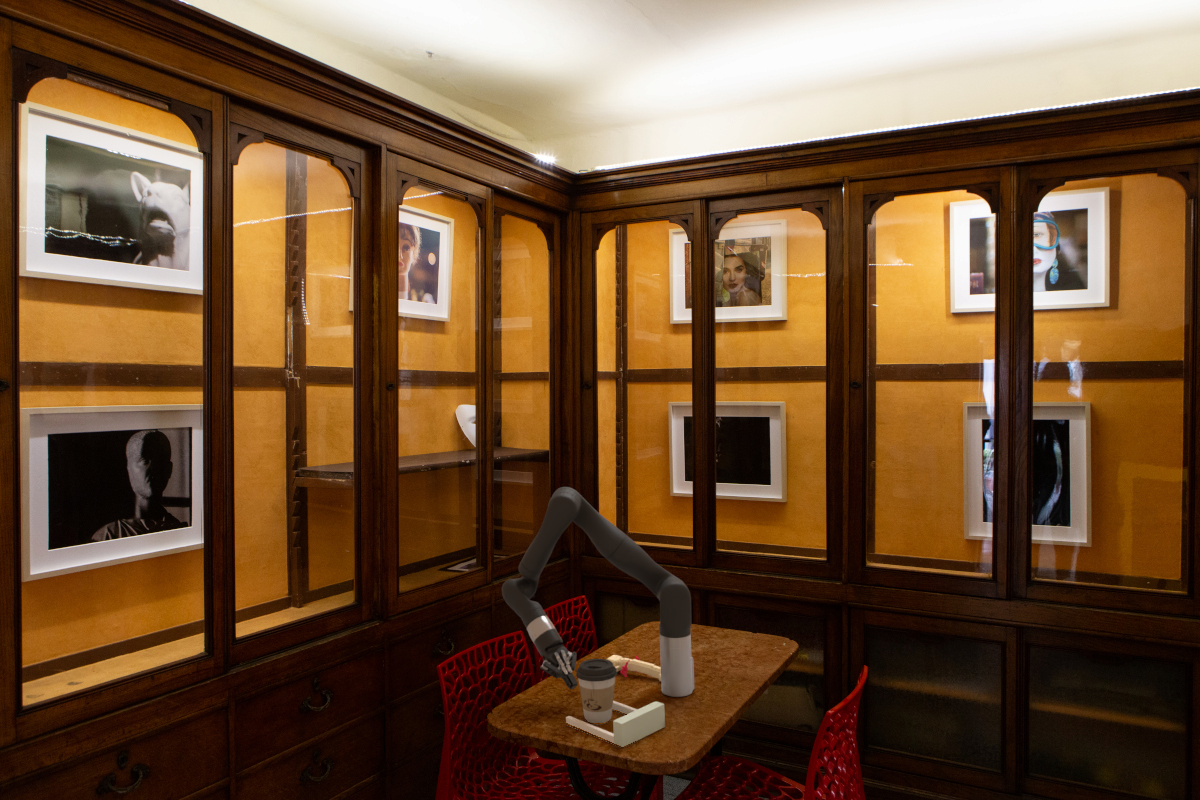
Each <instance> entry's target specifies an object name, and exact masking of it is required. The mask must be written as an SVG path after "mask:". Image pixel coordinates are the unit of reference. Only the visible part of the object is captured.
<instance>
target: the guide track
mask: <svg viewBox="0 0 1200 800" xmlns="http://www.w3.org/2000/svg"><path fill="white" fill-rule="evenodd" d="M612 709H614V710H613V711H615V710H618V711H620V712H622V713H621V714H623V713H625V714H627V715H625V714H624V715H623V716H620V717H618V718H616V719H614V720H612V722H613V723H612V727H613V730H612V731H613V732H610V731H608V730H606V729H604V728H601V727H598V726H595V725H594V724H590V723H588V722H586V721H583V720H581V719H578V718H576V717H574V716H571V715H568V716H565V724H566V723H568V724H570V725H572V726H575V727H577V728H580V729H582V730H584V731H587V732H589V733H591V734H593V735H596V736H598V737H601V738H603V739H605V740H608V741H610V742H612V743H614V744H617V745H619V746H621V747H624V746H626V745H628V744H630V745H631V743H632V744H634V743H636V742H638V741H640V740H641V739H643V738H646V737H647V736H649V735H651V734H653V733H656V732H657V731H659V730H661V729H663V728H666V719H665V717H666V716H665V715H666V714H665V703H663V702H659V701H653V702H650V703H649V704H647V705H644V706H642V707H640V708H635V707H632V706H630V705H627V704H625V703H620V702H618V701H616V700H613V708H612ZM620 712H619V713H620ZM635 741H636V742H635ZM633 742H634V743H633ZM612 743H611V744H612ZM614 744H613V745H614ZM619 746H618V747H619ZM628 746H629V745H628ZM621 747H620V748H621ZM626 747H627V746H626ZM624 748H625V747H624Z"/></svg>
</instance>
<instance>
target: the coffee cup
mask: <svg viewBox="0 0 1200 800" xmlns="http://www.w3.org/2000/svg"><path fill="white" fill-rule="evenodd" d="M575 676H576V678H577V679H578V686H579V691H580V698H581V705H582V710H583V716H584V720H585V719H586V720H587V721H588V722H591V723H604V722H607V721H609V720H610V719H612V715H613V710H612V708H613V701H614V694H615V683H616V677H617V676H618V672H617V669H616V667H614V666H613V663H612V662H611V661H609V660H607V658H606V659H605V658H591V659H586V660H583V661H581V662H580V664H579V665H578V668H576V673H575ZM586 720H585V721H586ZM610 721H611V720H610ZM610 721H609V722H610ZM588 722H587V723H588ZM607 723H608V722H607ZM604 724H605V723H604Z"/></svg>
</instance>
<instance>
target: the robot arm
mask: <svg viewBox="0 0 1200 800" xmlns="http://www.w3.org/2000/svg"><path fill="white" fill-rule="evenodd" d="M571 523H574V524H575V525H576V526H578V527H579V528H580V529H582V530H583V532H584V533H585V535H587V536H588V538H589V539H590V541H591V543H592V544H593V545H594V547H595V548H596V550H597V551H598V552H599V553H600V555H601V556H602V557H603V558H605V559H606V560H607V561H608V562H609V563H611V564H612V565H613V566H615V567H616V568H617V569H618V570H620V571H622V572H623V573H625V574H627V575H628V576H630V577H632V578H634V579H636V580H637V581H639V582H641V584H643V585H644V586H645V587H646V588H648V590H649V591H650V593H652V594H653V595H654V596H655V597H656V598H657V600H658V601H659V612H660V613H659V618H660V619H659V630H658V631H659V650H660V651H659V652H660V653H659V655H660V658H659V659H660V667H661V681H660V682H661V683H660V684H661V687H660V688H661V693H662V694H663V695H666V696H668V697H675V698H679V697H680V698H681V697H686V696H690V695H691V694H693V691H694V690H695V670H694V669H695V667H694V664H695V663H694V657H693V656H692V639H691V637H692V636H691V635H692V631H691V629H692V595H691V592H690V590H689V588H688V586H687V585H686V583H685V582H684V581H683V580H682V579H680V578H679V577H677V576H675V575H674V574H672V573H671V572H669V571H668V570H666V568H663V567H662V566H661V565H659V564H658V563H657V562H656V561H654V559H653V558H651V556H649V554H648V553H647V552H646V551H645V550H644V548H642V547H641V546H640V545H639V544H637V542H635V541H634V540H633V539H632V538H631V537H629V535H627V534H626V533H625V532H623V531H622V530H621V529H619V528H618V527H617V526H616V525H614V524H613V522H611V521H610V520H608V519H607V518H606V517H604V515H602V514H601V513H599V512H598V511H597V509H595V507H593V506H592V505H591V504H590V503H589V502H588V501H587V500H586V498H585V497H583V495H581V493H580V492H578V491H577V490H576V489H574V488H572V487H569V486H562V487H559V488H556V490H555V491H554V492H553V494H552V495H551V497H550V499H549V501H548V504H547V509H546V512H545V515H544V517H543V521H542V524H541V526H540V528H539V530H538V532H537V534H536V536H535V537H534V538H533V540H532V541H531V543H530V545H529V546H528V547H527V550H526V551H525V553H524V555H523V557H522V559H521V561H520V562H519V564H518V572H519V574H520V575H521V577H518V578H517V577H516V578H509V579H507V580H505V581H504V583H502V586H501V595H502V597H503V600H504V602H505V603H506V604H507V606H509V607H510V609H511V610H512V611H513V612H514V613H515V614H516V615H517V616H518V617H519V618H520V619H521V621H522V623H523V625H524V626H525V628H526V631H527V633H528V635H529V637H530V639H531V641H532V642H533V644H534V646H535V648H536V650H537V652H538V653H539V655H540V656H541V657H542V661H543V662H542V665H540V670H541V671H543V672H544V673H546V674H548V675H549V676H551V677H553V678H555V679H558V678H560V679H562V680H563V681H564V683H565V685H566V687H567V688H568V689H569V690H573V689H576V687H577V686H578V681H577V679H576V677H575V676H574V674H573V672H574V671H575V670H577V668H576V667H577V652H576V651H573V652H571V651H569V650H568V648H567V647H565V646H564V642H563V641H564V640H563V639H562V637H561V636H560V634H559V632H558V630H557V628H556V627H555V625H554V624H553V622H552V621H551V619H550V618H549V616H548V615H547V613H546V611H545V610H544V608H543V606H542V605H541V604H540V603H539V602H538V601H534V600H531V599H532V598H533V597H534V595H535V594H536V592H537V589H538V585H539V580H540V576H541V574H542V572H543V570H544V568H545V567H546V565H547V562H548V561H549V559H550V557H551V556H552V553H553V551H554V548H555V546H556V544H557V542H558V540H559V539H560V537H562V534H563V533H564V532H565V531H566V530H567V528H568V527H569V526H570V525H571Z"/></svg>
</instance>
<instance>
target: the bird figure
mask: <svg viewBox="0 0 1200 800" xmlns="http://www.w3.org/2000/svg"><path fill="white" fill-rule="evenodd" d="M606 660H609V661H611V662H612V663H613V666H614V667H616V669H617V673H618V672H619V671H620V672H619V673H620V674H621V675H622V676H623V677H624V678H626V677H628V671H631V672H636V673H637V672H638V673H640V674H641V673H642V674H646V675H648V676H649V677H653V678H656V679H657V680H658V681H659V682H661V666H658V665H656V664H654V663H651V662H646V661H643V660H640V657H638V655H634V658H633V659H632V658H628V657H623V656H621V655H617V654H613V655H611V656H609V657H607V658H606Z"/></svg>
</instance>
